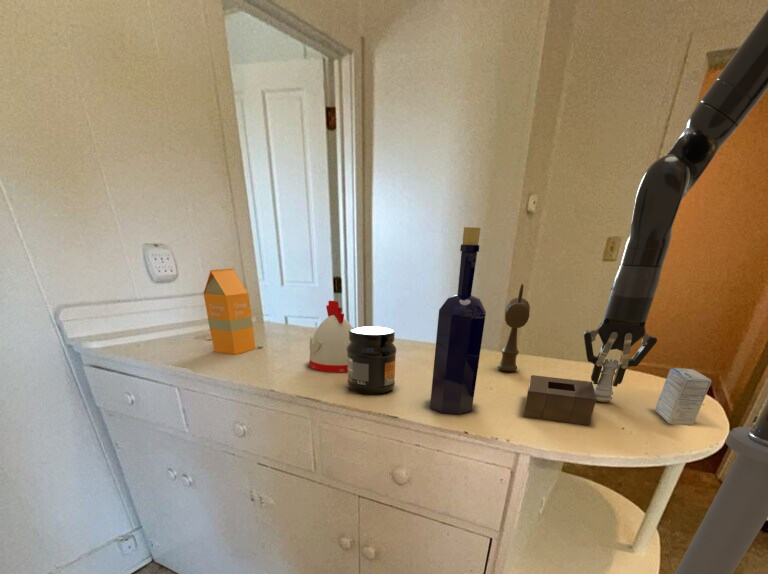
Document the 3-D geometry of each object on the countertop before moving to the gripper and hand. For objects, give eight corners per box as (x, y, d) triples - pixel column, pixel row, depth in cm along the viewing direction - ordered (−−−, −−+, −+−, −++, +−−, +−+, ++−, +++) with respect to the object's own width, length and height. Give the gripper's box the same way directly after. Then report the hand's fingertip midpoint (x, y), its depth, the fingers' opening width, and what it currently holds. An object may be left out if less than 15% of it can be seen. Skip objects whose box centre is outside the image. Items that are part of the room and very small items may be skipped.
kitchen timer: (348, 356, 118) (347, 296, 110) (373, 368, 108) (374, 303, 100) (301, 361, 112) (296, 298, 104) (323, 374, 102) (319, 306, 94)
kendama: (518, 367, 114) (535, 282, 103) (518, 376, 106) (536, 286, 95) (495, 364, 115) (509, 281, 104) (494, 374, 107) (509, 284, 96)
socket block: (585, 405, 88) (592, 381, 86) (588, 425, 79) (596, 399, 76) (526, 398, 91) (531, 374, 89) (522, 416, 82) (528, 390, 79)
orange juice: (256, 348, 123) (245, 269, 112) (235, 354, 116) (222, 271, 105) (234, 345, 126) (222, 267, 115) (213, 351, 119) (198, 269, 108)
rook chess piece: (610, 403, 89) (622, 364, 84) (587, 399, 91) (598, 361, 86) (612, 397, 92) (624, 359, 88) (590, 394, 94) (601, 356, 90)
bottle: (464, 398, 90) (486, 228, 74) (481, 413, 83) (511, 228, 66) (422, 400, 88) (436, 226, 72) (436, 415, 81) (455, 226, 64)
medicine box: (693, 426, 80) (713, 380, 75) (667, 424, 81) (686, 378, 76) (676, 412, 86) (694, 369, 82) (653, 410, 87) (670, 367, 82)
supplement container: (402, 386, 96) (405, 329, 90) (380, 398, 88) (382, 337, 82) (362, 378, 100) (362, 324, 94) (338, 390, 92) (336, 331, 86)
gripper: (593, 293, 79) (569, 385, 89) (679, 297, 76) (644, 393, 85) (591, 289, 85) (568, 376, 95) (669, 293, 82) (638, 383, 91)
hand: (604, 384), depth 90 cm, fingers closed on rook chess piece, 3 cm apart
